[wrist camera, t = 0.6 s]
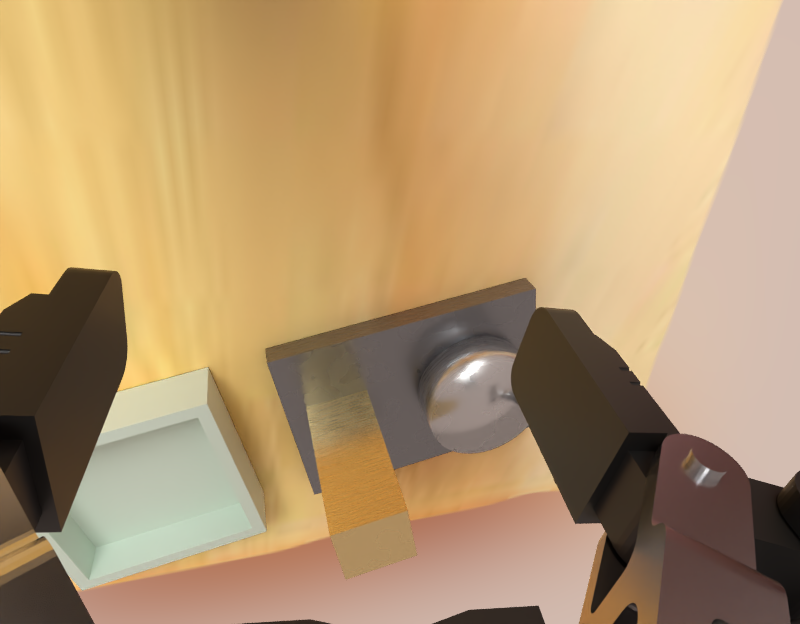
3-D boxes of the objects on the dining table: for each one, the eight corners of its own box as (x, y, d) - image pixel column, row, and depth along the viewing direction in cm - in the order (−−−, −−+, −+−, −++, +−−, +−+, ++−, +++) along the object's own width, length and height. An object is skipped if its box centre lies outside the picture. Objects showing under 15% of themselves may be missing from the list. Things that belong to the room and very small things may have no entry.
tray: (-5, 425, 32) (-26, 469, 30) (208, 367, 34) (206, 403, 31) (92, 545, 40) (82, 590, 37) (263, 492, 41) (266, 531, 39)
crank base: (265, 348, 35) (278, 469, 26) (525, 278, 37) (611, 367, 29) (311, 479, 42) (333, 605, 34) (526, 412, 45) (595, 514, 36)
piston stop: (306, 407, 36) (330, 535, 28) (366, 389, 37) (407, 510, 29) (319, 449, 38) (345, 579, 30) (376, 432, 39) (417, 555, 31)
